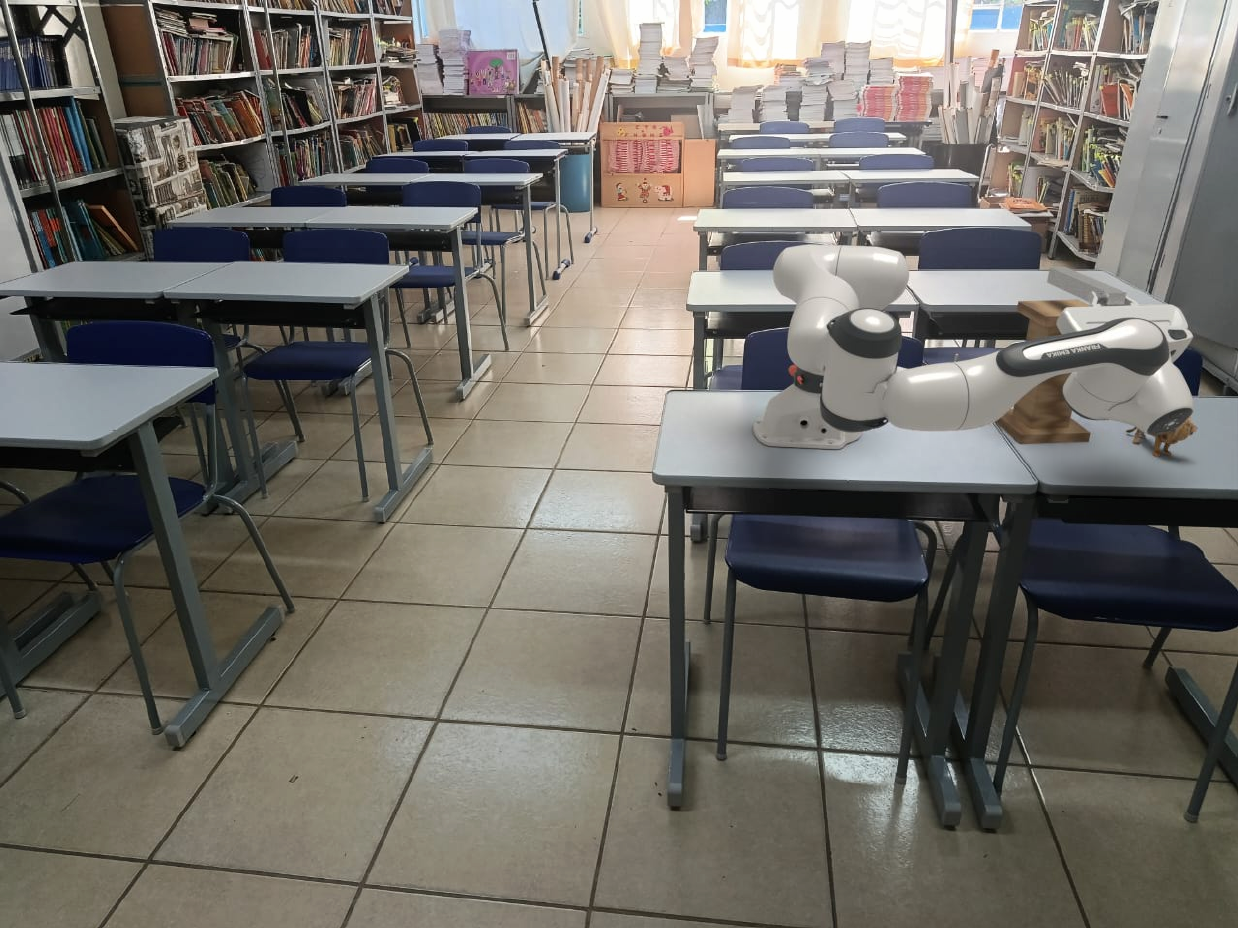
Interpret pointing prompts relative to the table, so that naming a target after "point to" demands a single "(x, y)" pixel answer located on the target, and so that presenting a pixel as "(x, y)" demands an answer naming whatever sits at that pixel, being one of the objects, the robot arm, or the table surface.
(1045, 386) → the walnut stand
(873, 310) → the robot arm
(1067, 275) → the metal block
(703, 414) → the table surface
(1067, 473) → the table surface
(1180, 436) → the lion figurine
